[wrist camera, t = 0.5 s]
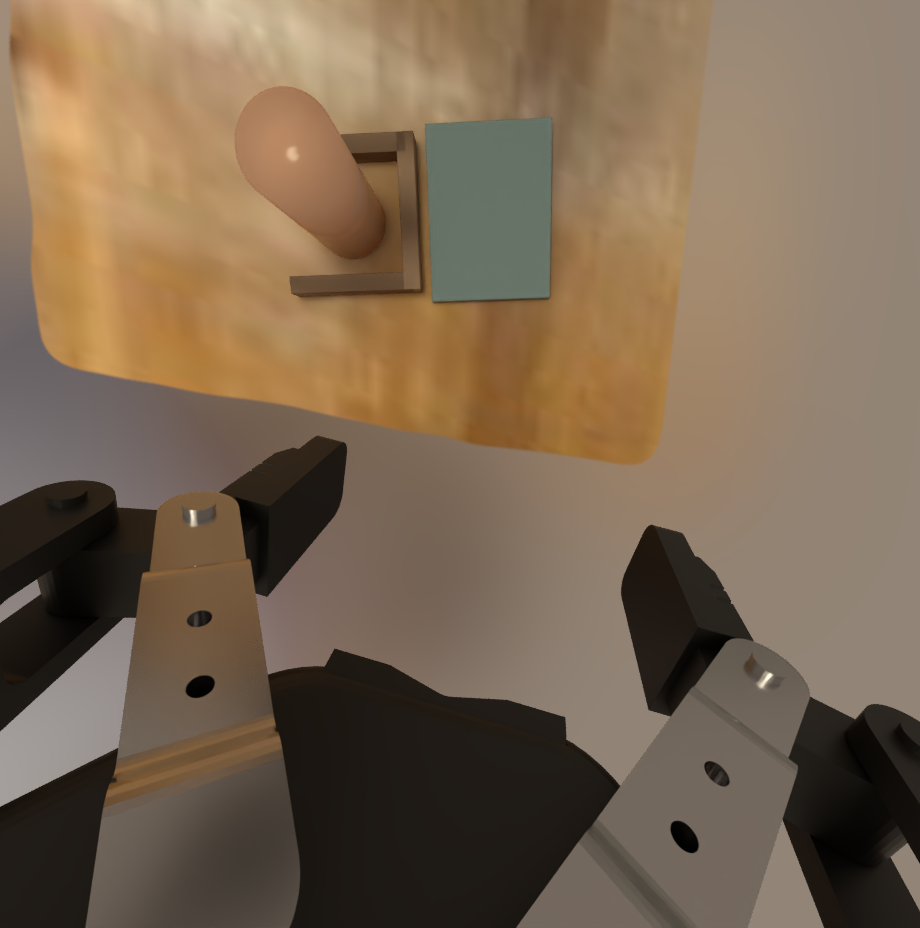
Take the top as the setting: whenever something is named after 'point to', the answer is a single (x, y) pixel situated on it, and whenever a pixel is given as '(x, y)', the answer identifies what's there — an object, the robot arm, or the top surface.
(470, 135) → the mat
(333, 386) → the top surface
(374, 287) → the holder
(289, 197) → the tall tan cylinder
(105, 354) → the top surface
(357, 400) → the top surface
